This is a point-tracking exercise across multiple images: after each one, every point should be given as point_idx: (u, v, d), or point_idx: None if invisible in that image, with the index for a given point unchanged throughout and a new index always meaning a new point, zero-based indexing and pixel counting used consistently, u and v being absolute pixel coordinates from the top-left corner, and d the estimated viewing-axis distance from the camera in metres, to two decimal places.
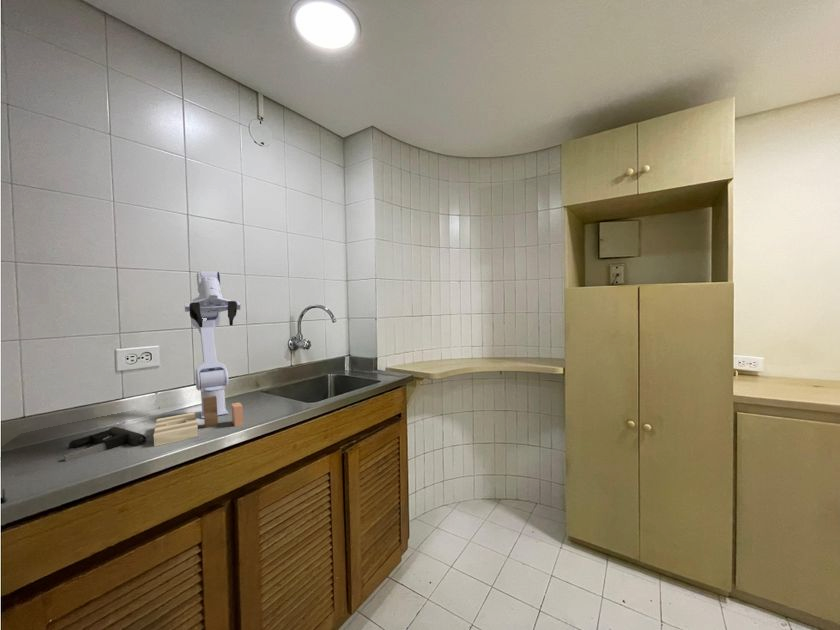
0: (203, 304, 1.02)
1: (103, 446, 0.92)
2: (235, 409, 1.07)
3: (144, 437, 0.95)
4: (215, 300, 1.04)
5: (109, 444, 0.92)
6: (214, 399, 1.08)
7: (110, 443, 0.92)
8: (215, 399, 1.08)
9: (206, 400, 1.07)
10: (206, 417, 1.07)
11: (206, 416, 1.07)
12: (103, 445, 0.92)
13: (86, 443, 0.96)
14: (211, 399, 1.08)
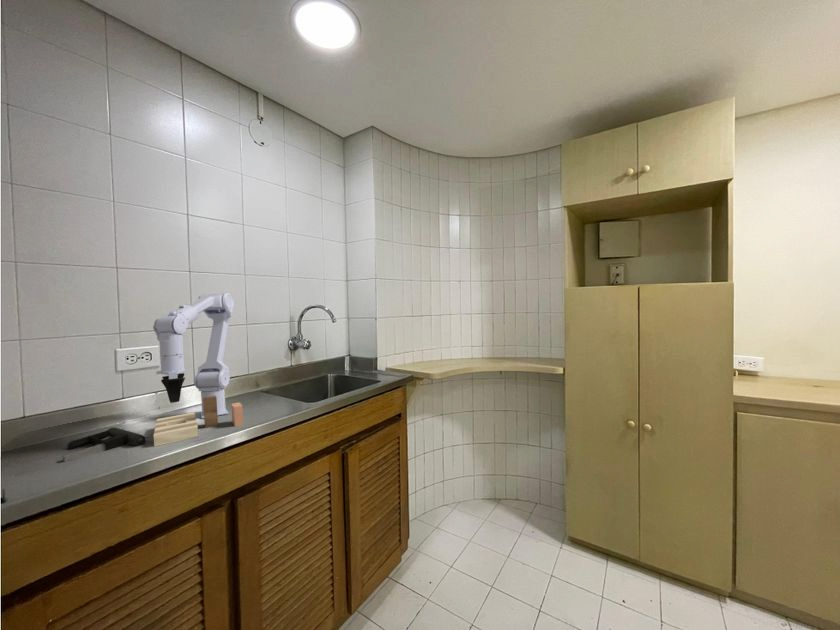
0: None
1: (102, 447, 0.91)
2: (235, 409, 1.07)
3: (143, 438, 0.95)
4: None
5: (108, 445, 0.92)
6: (214, 399, 1.08)
7: (109, 444, 0.92)
8: (215, 399, 1.08)
9: (206, 400, 1.07)
10: (206, 417, 1.07)
11: (206, 416, 1.07)
12: (102, 446, 0.91)
13: (85, 444, 0.96)
14: (211, 399, 1.08)
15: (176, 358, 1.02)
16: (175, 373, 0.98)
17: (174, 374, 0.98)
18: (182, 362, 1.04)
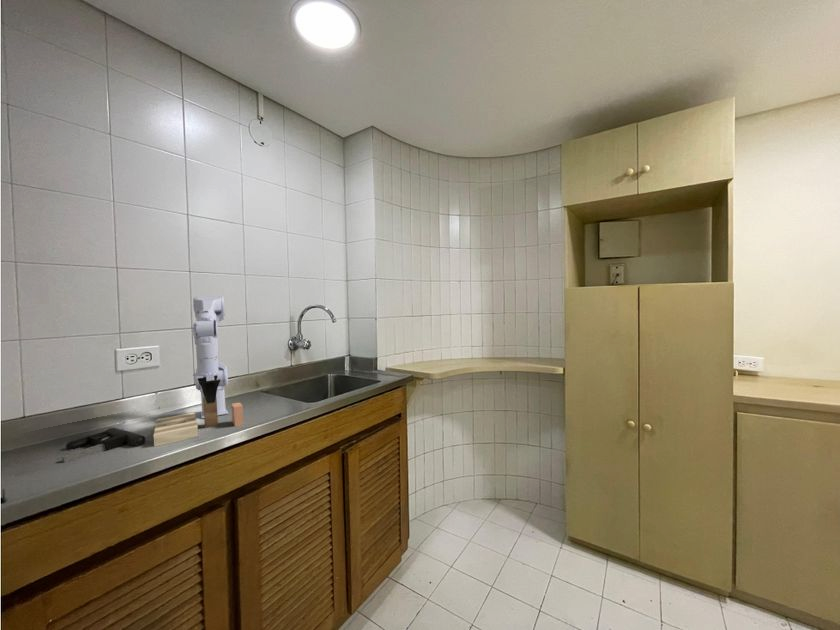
0: None
1: (102, 447, 0.91)
2: (235, 409, 1.07)
3: (143, 438, 0.94)
4: None
5: (108, 445, 0.92)
6: None
7: (109, 444, 0.92)
8: None
9: None
10: (206, 417, 1.07)
11: (206, 416, 1.07)
12: (102, 446, 0.91)
13: (83, 444, 0.95)
14: None
15: (212, 361, 1.07)
16: (212, 375, 1.03)
17: (211, 376, 1.03)
18: (217, 365, 1.09)
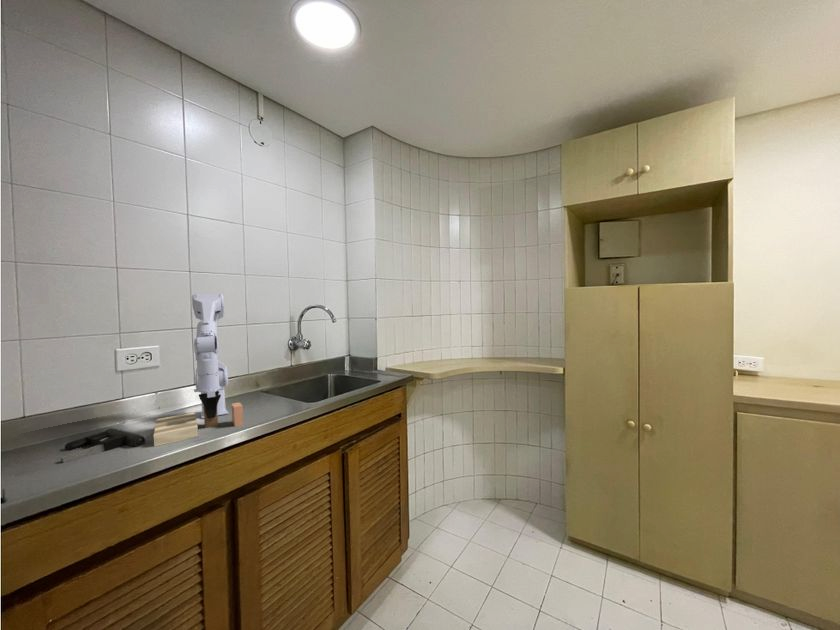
0: None
1: (101, 447, 0.91)
2: (235, 409, 1.07)
3: (143, 438, 0.94)
4: None
5: (107, 445, 0.91)
6: None
7: (108, 445, 0.92)
8: None
9: None
10: (206, 417, 1.07)
11: (206, 416, 1.07)
12: (101, 446, 0.91)
13: (83, 445, 0.95)
14: None
15: (212, 377, 1.07)
16: (213, 392, 1.03)
17: (212, 393, 1.03)
18: (218, 380, 1.09)
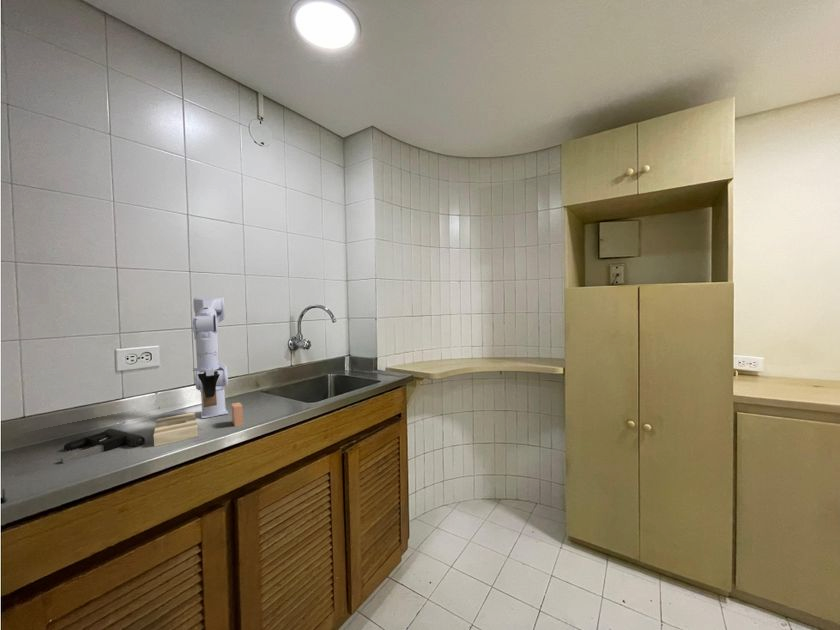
0: None
1: (101, 448, 0.90)
2: (235, 409, 1.07)
3: (143, 438, 0.94)
4: None
5: (107, 446, 0.91)
6: None
7: (108, 445, 0.91)
8: None
9: None
10: (205, 396, 1.07)
11: (205, 395, 1.07)
12: (101, 447, 0.90)
13: (81, 445, 0.95)
14: None
15: (211, 356, 1.07)
16: (212, 370, 1.03)
17: (211, 371, 1.03)
18: (216, 360, 1.09)
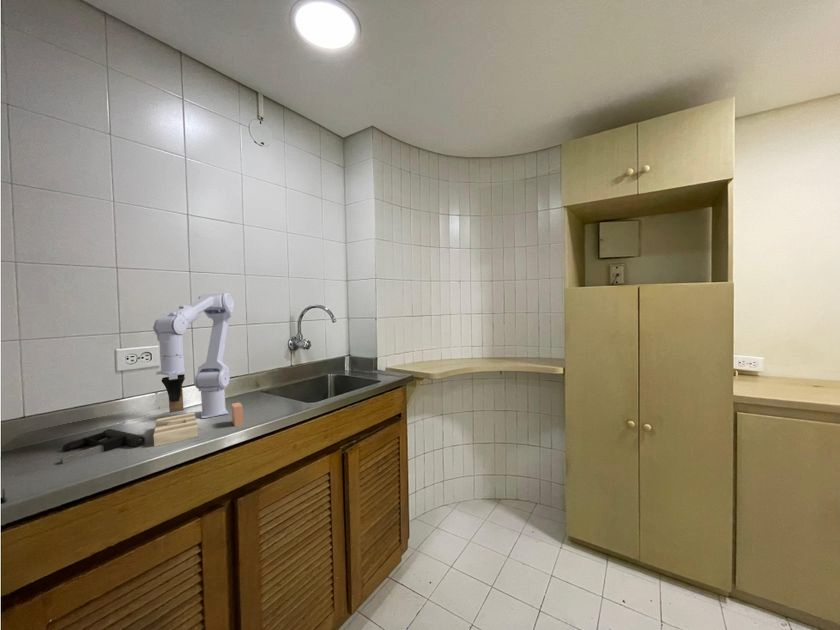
0: None
1: (100, 448, 0.90)
2: (235, 409, 1.07)
3: (143, 438, 0.94)
4: None
5: (107, 446, 0.91)
6: None
7: (107, 445, 0.91)
8: None
9: None
10: None
11: None
12: (100, 447, 0.90)
13: (81, 446, 0.94)
14: None
15: (176, 358, 1.02)
16: (175, 374, 0.98)
17: (174, 375, 0.98)
18: (182, 362, 1.04)
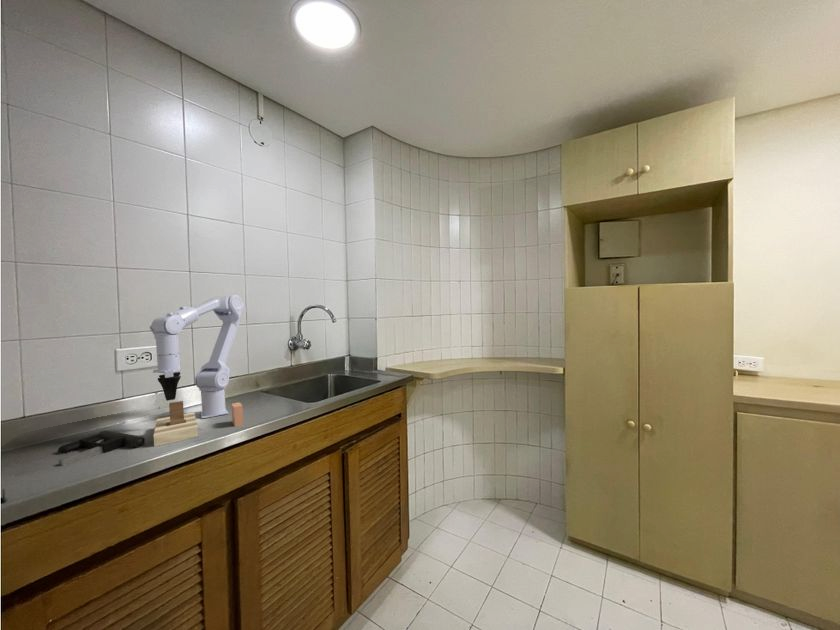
0: None
1: (100, 449, 0.89)
2: (235, 409, 1.07)
3: (143, 439, 0.93)
4: None
5: (106, 447, 0.90)
6: (180, 405, 1.03)
7: (107, 446, 0.90)
8: (182, 405, 1.03)
9: (172, 406, 1.02)
10: (172, 424, 1.02)
11: (172, 422, 1.02)
12: (100, 448, 0.89)
13: (77, 448, 0.93)
14: (177, 405, 1.02)
15: (172, 357, 1.05)
16: (171, 372, 1.01)
17: (170, 373, 1.01)
18: (178, 361, 1.07)
